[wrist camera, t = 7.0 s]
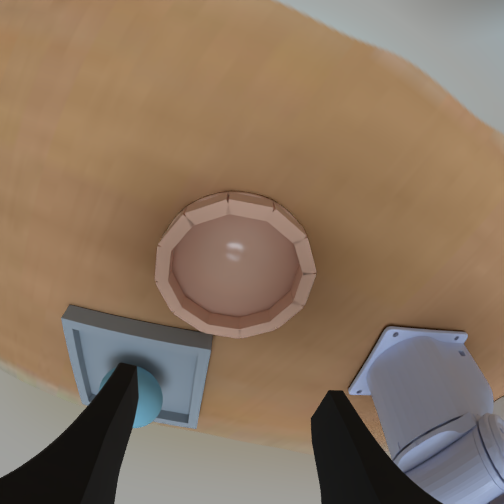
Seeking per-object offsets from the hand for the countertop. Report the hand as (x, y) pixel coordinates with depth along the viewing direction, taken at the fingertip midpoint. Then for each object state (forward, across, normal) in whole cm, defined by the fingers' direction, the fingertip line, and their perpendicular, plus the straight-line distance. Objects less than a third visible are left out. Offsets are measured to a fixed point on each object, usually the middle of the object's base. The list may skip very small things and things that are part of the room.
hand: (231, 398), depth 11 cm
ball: (+9, +6, +11) cm, 16 cm away
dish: (+10, 0, 0) cm, 10 cm away
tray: (+10, +6, +12) cm, 16 cm away
